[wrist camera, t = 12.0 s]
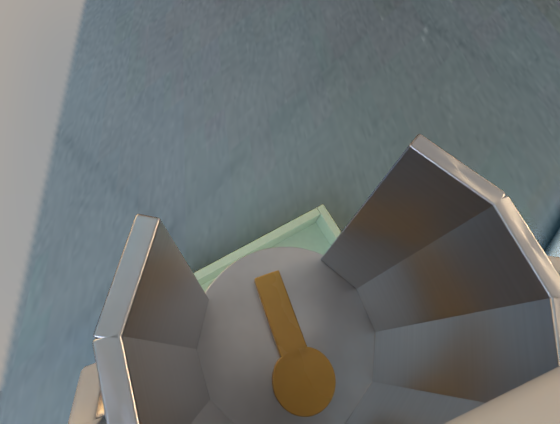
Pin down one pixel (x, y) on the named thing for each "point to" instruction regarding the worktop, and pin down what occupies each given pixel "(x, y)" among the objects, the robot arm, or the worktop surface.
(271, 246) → the tray
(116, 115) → the worktop surface
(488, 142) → the worktop surface
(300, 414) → the key
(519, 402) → the robot arm
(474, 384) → the steel cup
